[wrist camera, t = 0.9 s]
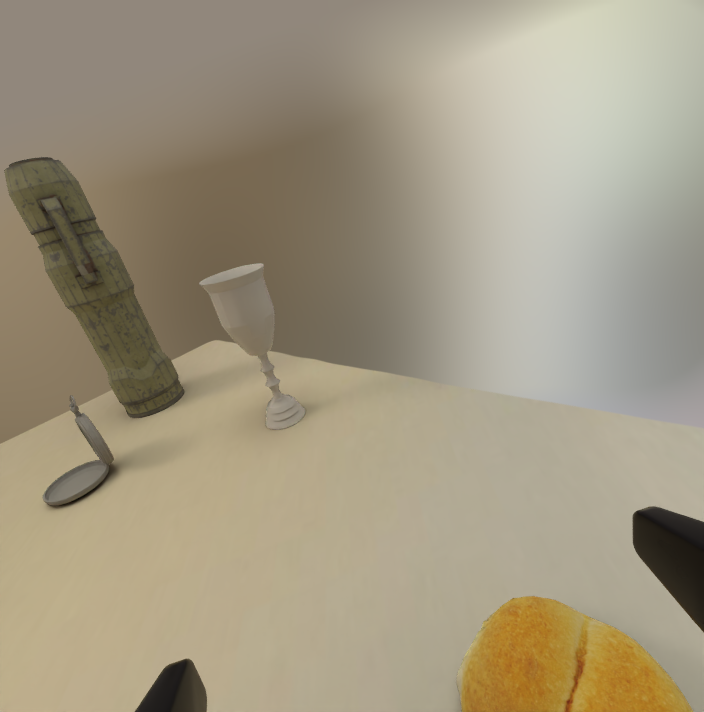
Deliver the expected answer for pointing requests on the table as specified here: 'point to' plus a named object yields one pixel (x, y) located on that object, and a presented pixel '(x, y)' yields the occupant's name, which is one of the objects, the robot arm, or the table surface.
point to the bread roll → (560, 665)
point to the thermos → (93, 284)
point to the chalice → (252, 330)
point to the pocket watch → (81, 466)
